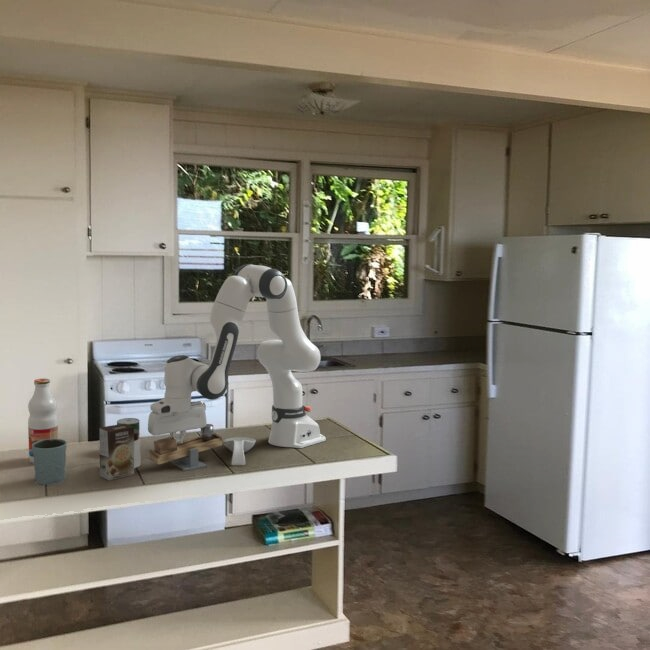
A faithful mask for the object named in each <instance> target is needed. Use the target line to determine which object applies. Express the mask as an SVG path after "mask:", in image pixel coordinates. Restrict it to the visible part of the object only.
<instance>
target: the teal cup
mask: <svg viewBox="0 0 650 650" xmlns="http://www.w3.org/2000/svg"><path fill="white" fill-rule="evenodd" d="M32 450H33V457H34V463H33V465H34V476H35V482H36V483H37V484H39V485H46V486H47V485H55V484H59V483H61V482H64V480H65V479H66V460H67V459H66V457H67V456H66V455H67V454H66V453H67V441H66V440H64V439H61V438H58V439H44V440H40V441H37V442H35V443H33V444H32Z"/></svg>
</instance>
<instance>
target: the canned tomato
mask: <svg viewBox="0 0 650 650" xmlns="http://www.w3.org/2000/svg"><path fill="white" fill-rule="evenodd" d="M118 424H128V425H131V426H133V427H134V429H137V430H138V431H139V439H140V440H141V438H140V430H141V429H140V419H139V418H137V417H125V418H120V419H117V420H116V425H118Z"/></svg>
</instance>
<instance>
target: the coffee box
mask: <svg viewBox="0 0 650 650" xmlns="http://www.w3.org/2000/svg"><path fill="white" fill-rule="evenodd" d="M133 475H135V468H134V427H133V426H131V425H128V424H118V425H117V424H113V425H112V424H111V425H107V426H101V427H99V476H100V477H101V478H103V479H105V480H107V481H113V480H117V479H121V478H126V477H129V476H133Z"/></svg>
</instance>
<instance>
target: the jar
mask: <svg viewBox="0 0 650 650" xmlns="http://www.w3.org/2000/svg"><path fill="white" fill-rule="evenodd" d="M139 431H140V430H139ZM139 431H138V430H137V429H134V469H136V468H138V467H141V438H140V439H139V433H140V432H139Z"/></svg>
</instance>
